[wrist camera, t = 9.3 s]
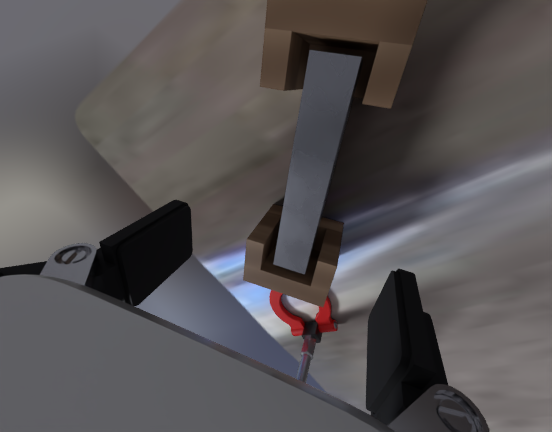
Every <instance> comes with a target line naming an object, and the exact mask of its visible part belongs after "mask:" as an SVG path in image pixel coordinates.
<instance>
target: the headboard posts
mask: <svg viewBox="0 0 552 432" xmlns="http://www.w3.org/2000/svg"><path fill="white" fill-rule="evenodd" d="M427 1H428V0H267V11H266V23H265V34H264V46H263V57H262V69H261V80H260V87H265V88H271V89H277V90H283V91H285V90H296V89H303V86H304V80H305V74H306V68H307V62H308V57H309V51H310V50H314V51H322V52H329V53H337V54H344V55H351V56H359V57H362V62H363V64H362V67H361V71H360V75H359V79H358V82H357V86H356V90H355V94H354V97H355V98H361V99H363V103H362V104H366V105H372V106H378V107H384V108H390V109H391V107H392V104H393V101H394V98H395V95H396V92H397V89H398V86H399V83H400V80H401V77H402V74H403V71H404V68H405V65H406V63H407V60H408V57H409V54H410V51H411V48H412V45H413V42H414V39H415V36H416V33H417V30H418V27H419V24H420V21H421V18H422V15H423V13H424V10H425V7H426V4H427ZM282 210H283V206H279V205H275V204H273V205H272V207H271V208H270V209H269V211H268V212H267V213H266V215H265V216H264V217H263V218H262V220H261V221H260V222H259V224H258V225H257V226H256V228H255V229H254V230H253V232H252V233H251V234H250V235H249V237H248V238H247V242H246V254H245V266H244V277H243V280H245V281H247V282H250V283H253V284H256V285H259V286H262V287H265V288H268V289H271V290H274V291H277V292H279V293H282V294H285V295H288V296H291V297H294V298H297V299H300V300H303V301H306V302H309V303H312V304H314V305H317V306H320V307H324V304H325V301H326V298H327V295H328V292H329V289H330V286H331V283H332V280H333V277H334V274H335V271H336V269H337V264H338V258H339V251H340V245H341V239H342V232H343V226H344V223H342V222H338V221H335V220H331V219H327V218H324V217H322V218H321V221H320V225H319V229H318V233H317V236H316V240H315V244H314V247H313V250H312V253H311V256H310V260H309V263H308V266H307V269H306V272H305V274H302V273H298V272H295V271H292V270H289V269H286V268H283V267H280V266H277V265H274V264H273V263H274V257H275V251H276V246H277V240H278V234H279V228H280V222H281V216H282Z"/></svg>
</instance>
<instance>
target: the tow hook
mask: <svg viewBox="0 0 552 432" xmlns="http://www.w3.org/2000/svg"><path fill="white" fill-rule="evenodd" d="M281 295H282V293H279V292H277V291H274V290H271V293H270V304H271V307H272V309H273V311H274V312H275V314H276V315H277V316H278V317H279V318H280V319H281V320H282V321H284V322H285V323H287V324H289V325H290V327H291V332H292V335H293V336H299V335H302V337H303V339H304V343H303V347H302V351H301V361H300V364H299V368H298V372H297V376H296V379H297V380H300V381H302V382H304V383H306V379H307V375H308V370H309V366H310V361H311V360H312V359H313V354H314V350H315V345H316V343H320V342H321V337H322V333H323V332H331V331H337V329H338V326H337V322H336V320H332V318H331V316H330V315H331V303H330V299H329V298H328V296H327V298H326V301H325V304H324V307H320V306H319V312H318V313H317V314H316V318H315V320H316V321H315V322H308V323H304V321H303V320H302V318H300V317H297V316H294V315H292V314H291V313H289V312H288V311H287V310H286V309H285V308H284V306H283V304H282V302H281Z"/></svg>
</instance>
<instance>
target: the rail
mask: <svg viewBox="0 0 552 432" xmlns="http://www.w3.org/2000/svg"><path fill="white" fill-rule="evenodd" d="M362 64H363V62H362V57H359V56H351V55H344V54H337V53H329V52H322V51H314V50H310V51H309V57H308V62H307V68H306V74H305V80H304V86H303V92H302V98H301V104H300V110H299V116H298V121H297V127H296V133H295V139H294V145H293V151H292V157H291V163H290V169H289V175H288V181H287V186H286V192H285V198H284V204H283V210H282V216H281V222H280V228H279V234H278V240H277V246H276V251H275V257H274V263H273V264H274V265H277V266H280V267H283V268H286V269H289V270H292V271H295V272H298V273H302V274H305V272H306V269H307V266H308V263H309V260H310V256H311V253H312V250H313V247H314V244H315V240H316V236H317V233H318V229H319V225H320V221H321V218H322V214H323V210H324V206H325V203H326V199H327V195H328V191H329V188H330V184H331V180H332V176H333V173H334V169H335V165H336V161H337V158H338V154H339V150H340V146H341V143H342V139H343V135H344V131H345V128H346V124H347V120H348V116H349V113H350V109H351V105H352V101H353V98H354V94H355V90H356V86H357V82H358V79H359V75H360V71H361V67H362Z"/></svg>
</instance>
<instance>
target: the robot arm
mask: <svg viewBox="0 0 552 432" xmlns="http://www.w3.org/2000/svg"><path fill="white" fill-rule="evenodd" d="M99 243H100V247H101V248H99V249H97V250H96V248H95V246H93V245H91V244H87V243H78V244H72V245H68V246H65V247H63V248H61V249H59V250H57V251H56V252H54V253H53V254H52V255H51V256H50V258H49V259H48V261H45V262H39V263H33V264H25V265H19V266H12V267H5V268H0V432H489V428H488V425H487V423H486V420H485V418H484V417H483V415H482V414H481V412H480V410H479V409H478V408H477V407H476V406H475V404H474V403H473V402H472V401H471V400H470V399H469V398H468V397H466V396H465V395H464V394H463V393H462V392H460V391H458V390H457V389H455V388H453V387H451V386H448V383H447V379H446V375H445V370H444V366H443V362H442V358H441V354H440V350H439V346H438V342H437V338H436V334H435V330H434V326H433V322H432V319H431V316H430V315H429V314H428V313H425V312H423V309H422V305H421V300H420V295H419V291H418V286H417V282H416V277H415V274H414V273H411V272H408V271H405V270H402V269H398V270H397V271H391V273H390V274H389V277H388V279H387V281H386V283H385V285H384V287H383V289H382V291H381V293H380V295H379V297H378V299H377V301H376V303H375V305H374V307H373V309H372V311H371V313H370V316H369V319H368V340H367V379H366V409H367V410H369V411H371V415H369V414H367V413H365V412H363V411H361V410H359V409H357V408H356V407H354V406H352V405H350V404H348V403H346V402H344V401H342V400H340V399H338V398H336V397H334V396H331V395H329V394H327V393H325V392H323V391H321V390H319V389H316V388H314V387H312V386H310V385H308V384H306V383H304V382H302V381H300V380H297V379H295V378H293V377H291V376H289V375H286V374H284V373H282V372H279V371H278V370H275V369H273V368H271V367H268V366H266V365H264V364H262V363H260V362H258V361H256V360H253V359H251V358H249V357H247V356H244V355H242V354H240V353H238V352H235V351H233V350H231V349H229V348H227V347H224V346H222V345H220V344H218V343H215V342H213V341H211V340H209V339H207V338H204V337H202V336H199V335H198V334H195V333H193V332H191V331H189V330H186V329H184V328H182V327H180V326H177V325H175V324H173V323H170V322H168V321H166V320H163V319H162V318H159V317H157V316H155V315H152V314H150V313H148V312H146V311H143V310H141V309H139V308H136V307H134V306H137V305H139V304H140V303H141V302H142V301H143V300H144V299H145V298H146V297H147V296H149V295H150V294H151V293H152V292H153V291H154V290H155V289H156V288H157V287H158V286H159V285H160V284H162V283H163V282H164V281H165V280H166V279H167V278H168V277H169V276H170V275H171V274H172V273H174V272H175V271H176V270H177V269H178V268H179V267H180V266H181V265H182V264H183V263H184V262H185V261H186V260H188V259H189V258H190V256H191V255H192V251H193V249H192V227H191V209H190V207H189V206H188V204H187V203H185V202H182V201H179V200H173V201H171V202H170V203H168V204H166V205H164V206H162V207H161V208H159V209H157V210H155V211H154V212H152V213H150V214H148V215H147V216H145V217H143V218H141V219H140V220H138V221H136V222H134V223H132V224H131V225H129V226H127V227H125V228H123V229H122V230H120V231H118V232H116V233H115V234H113V235H111V236H109V237H107V238H106V239H104V240H102V241H100V242H99Z"/></svg>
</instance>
